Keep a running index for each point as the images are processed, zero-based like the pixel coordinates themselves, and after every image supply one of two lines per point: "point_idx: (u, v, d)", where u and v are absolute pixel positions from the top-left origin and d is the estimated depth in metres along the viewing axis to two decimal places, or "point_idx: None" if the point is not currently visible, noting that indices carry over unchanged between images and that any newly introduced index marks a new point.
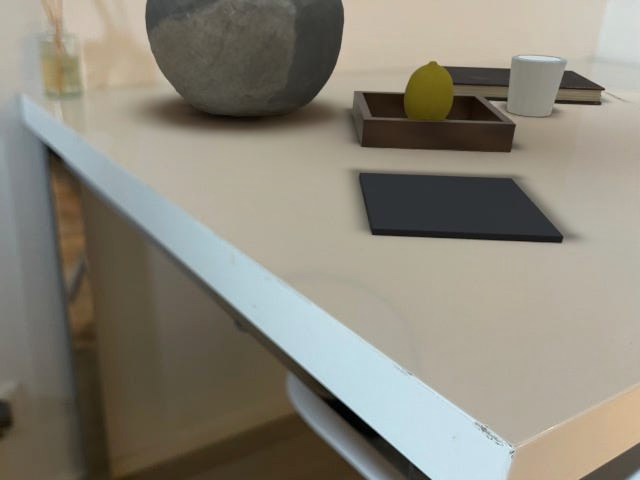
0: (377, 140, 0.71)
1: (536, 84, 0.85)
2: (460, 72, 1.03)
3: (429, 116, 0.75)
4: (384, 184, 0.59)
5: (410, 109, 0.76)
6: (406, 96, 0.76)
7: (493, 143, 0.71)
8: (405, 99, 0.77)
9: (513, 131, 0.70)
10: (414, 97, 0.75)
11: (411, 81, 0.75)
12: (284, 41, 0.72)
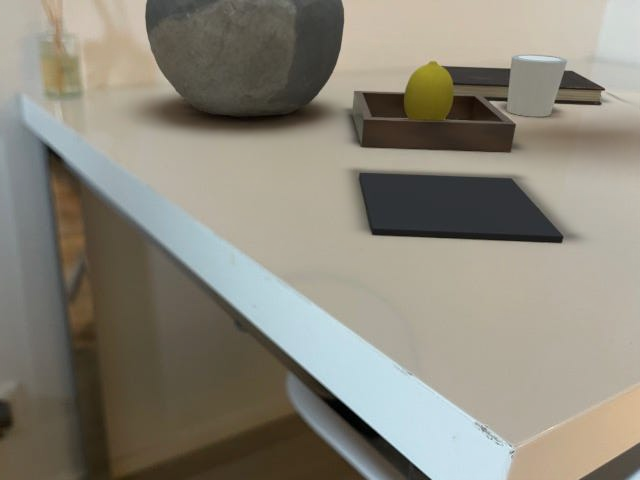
0: (377, 140, 0.71)
1: (536, 84, 0.85)
2: (460, 72, 1.03)
3: (429, 116, 0.75)
4: (384, 184, 0.59)
5: (410, 109, 0.76)
6: (406, 96, 0.76)
7: (493, 143, 0.71)
8: (405, 99, 0.77)
9: (513, 131, 0.70)
10: (414, 97, 0.75)
11: (411, 81, 0.75)
12: (284, 41, 0.72)
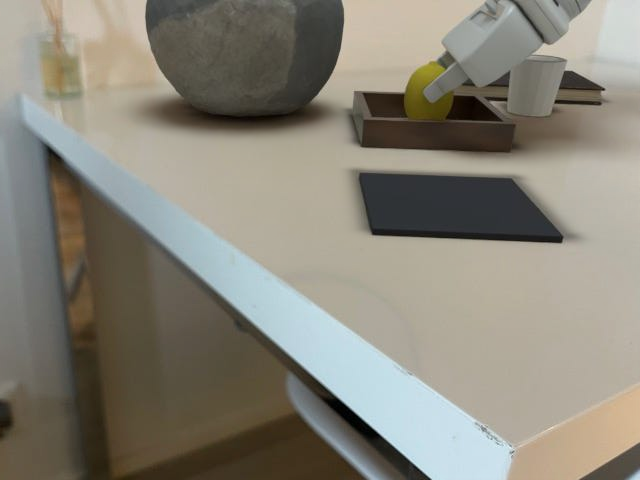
0: (377, 140, 0.71)
1: (536, 84, 0.85)
2: None
3: (429, 116, 0.75)
4: (384, 184, 0.59)
5: (410, 109, 0.76)
6: (406, 96, 0.76)
7: (493, 143, 0.71)
8: (405, 99, 0.77)
9: (513, 131, 0.70)
10: (414, 97, 0.75)
11: (411, 81, 0.75)
12: (284, 41, 0.72)
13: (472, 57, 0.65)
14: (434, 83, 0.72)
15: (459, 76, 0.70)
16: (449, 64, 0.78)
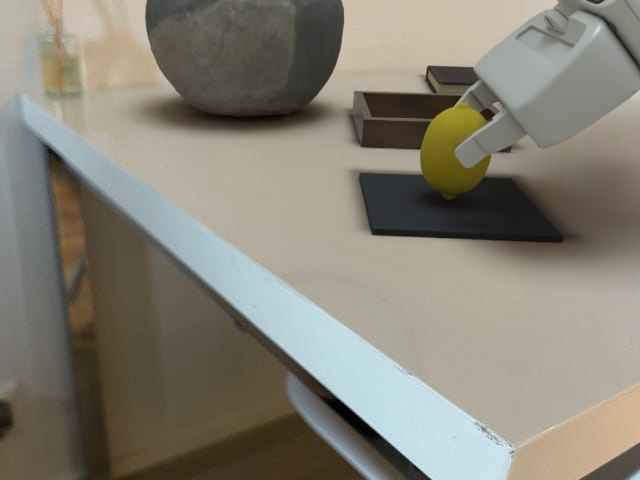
0: (377, 140, 0.71)
1: None
2: (460, 72, 1.03)
3: (457, 181, 0.52)
4: (384, 184, 0.59)
5: (430, 171, 0.53)
6: (424, 152, 0.53)
7: None
8: (422, 156, 0.54)
9: None
10: (436, 155, 0.52)
11: (431, 132, 0.52)
12: (284, 41, 0.72)
13: (535, 104, 0.42)
14: (472, 140, 0.48)
15: (512, 131, 0.46)
16: (484, 99, 0.56)
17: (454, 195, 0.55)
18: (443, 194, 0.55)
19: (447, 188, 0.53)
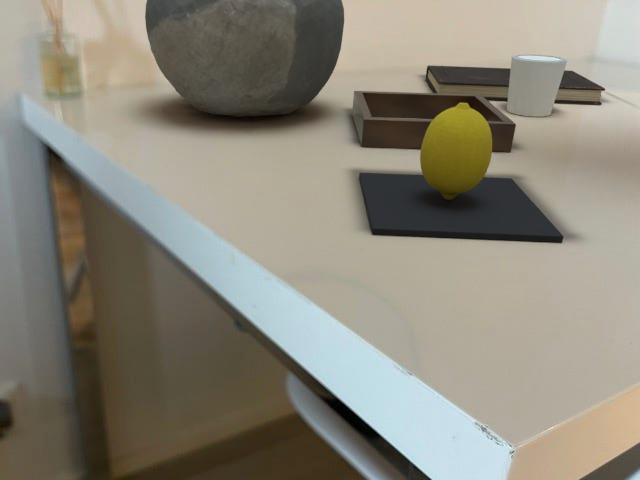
0: (377, 140, 0.71)
1: (536, 84, 0.85)
2: (460, 72, 1.03)
3: (457, 181, 0.52)
4: (384, 184, 0.59)
5: (430, 171, 0.53)
6: (424, 152, 0.53)
7: (493, 143, 0.71)
8: (422, 156, 0.54)
9: (513, 131, 0.70)
10: (436, 155, 0.52)
11: (431, 131, 0.52)
12: (284, 41, 0.72)
13: None
14: None
15: None
16: None
17: (454, 195, 0.55)
18: (443, 194, 0.55)
19: (447, 188, 0.53)
